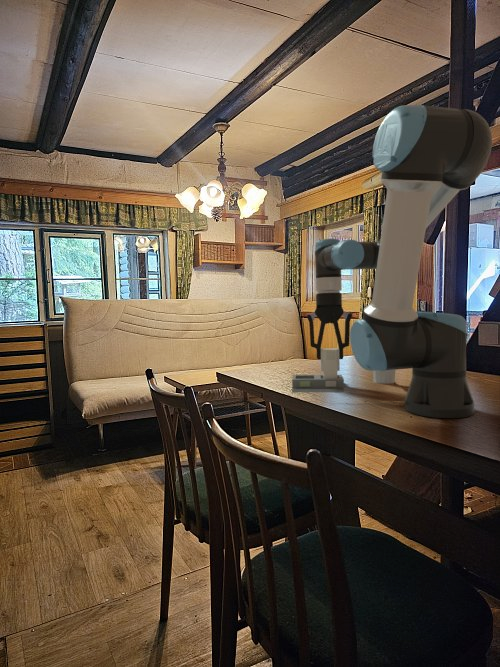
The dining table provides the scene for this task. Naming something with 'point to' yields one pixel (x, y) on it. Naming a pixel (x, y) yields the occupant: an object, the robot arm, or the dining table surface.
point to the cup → (384, 377)
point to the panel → (317, 384)
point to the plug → (330, 363)
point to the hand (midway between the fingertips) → (330, 370)
